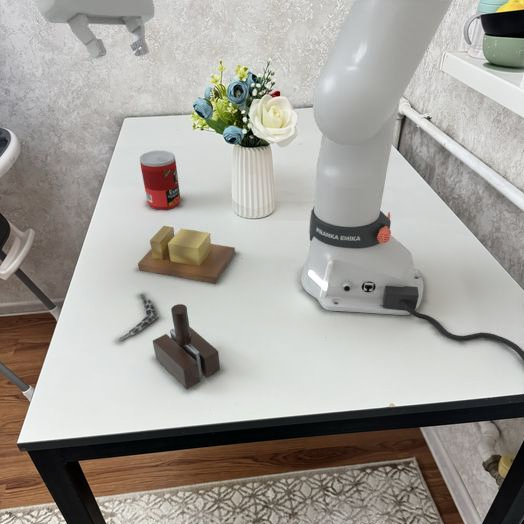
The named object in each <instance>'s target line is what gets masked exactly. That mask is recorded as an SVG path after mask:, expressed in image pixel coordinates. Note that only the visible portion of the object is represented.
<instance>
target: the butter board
mask: <svg viewBox="0 0 524 524" xmlns="http://www.w3.org/2000/svg"><path fill="white" fill-rule="evenodd" d="M149 244H150V250H149V251H148V252H146V254H145V255H144V256H143V257H142V258H141V259H140V260H139V262H138V263H137V266H138V270H139V271H143V272H149V273H154V274H160V275H165V276H171V277H175V278H176V277H177V278H181V279H187V280H191V281H198V282H203V283H210V284H214V285H216V283H217V282H218V280H219V279H220V277H221V276H222V274H223V273H224V271H225V270H226V268H227V267H228V265H229V264H230V263H231V261H232V259H233V258H234V257H235V255H236V248H235V247H233V246H229V245H220V244H215V243H212V239H211V233H210V232H207V231H200V230H194V229H188V228H180V229H179V230H178V231H177V232H176V234H175V229H174V226H168V225H163V226H162V227H161V228H160V229H159V230H158V231H157V232H156V233H155V234H154V235H153V236H152V237H151V238H150V239H149Z"/></svg>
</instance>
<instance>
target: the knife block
mask: <svg viewBox="0 0 524 524" xmlns="http://www.w3.org/2000/svg"><path fill="white" fill-rule="evenodd" d="M173 329H174V328H173ZM174 330H175V329H174ZM190 333H191V342H190V344H191V345H192V346H193V347H194V348H195V349H196V350H197V351H199V355H200V362H201V370H202V375H203V376H204V377H206V378H209V377H211V376H212V375H214V374H216V373H217V372H219V371H221V366H220V355H219V350H217V348H215V347H214V346H213V345H212V344H211V343H210V342H208V341H207V340H206V339H205V338H204V337H203V336H202V335H200V334H199V333H198V332H197V331H196V330H195V329H193V328H192V327H191V326H190ZM152 345H153V350H154V355H155V359H156V361H157V362H158V363H159V364H160V365H161V366H163V368H164V369H165V370H167V372H168V373H169V374H170V375H171V376H172V377H173V378H175V379H176V381H177V382H178V383H179V384H180V385H182V387H184V389H186V390H189V389H190V388H192V387H194V386H195V385H197V384H199V383H200V382H201V377H200V376H199V369H198V362H197V361H195V360H194V359H193V358H192V357H191V356H190V355H189V354H188V353H187V352H186V351H184V350H183V349H182V348H181V347H180V346H179V345H178V344H177V343H176V342H175V341H174V340H172V339H171V336H169V335H168V334H167V333H165V334H163V335H161V336H159V337H156V338H155V339H153V340H152Z"/></svg>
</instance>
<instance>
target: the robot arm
mask: <svg viewBox="0 0 524 524" xmlns="http://www.w3.org/2000/svg"><path fill="white" fill-rule="evenodd" d="M453 2H454V0H353V1H352V3H351V6H350V8H349V10H348V12H347V14H346V16H345V18H344V20H343V23H342V25H341V27H340V29H339V31H338V33H337V36H336V38H335V40H334V42H333V44H332V46H331V48H330V51H329V53H328V55H327V56H326V60H325V62H324V64H323V66H322V68H321V70H320V72H319V75H318V77H317V79H316V82H315V85H314V91H313V98H312V113H313V118H314V122H315V124H316V126H317V128H318V129H319V131H320V132H321V133H322V135H321V141H320V147H319V152H318V156H317V160H316V161H317V162H316V172H315V186H314V187H315V189H314V201H313V202H314V203H313V208H312V209H311V211H310V216H309V226H308V228H309V229H308V234H309V241H310V242H309V249H308V253H307V258H306V260H305V261H306V262H305V264H304V267H303V270H302V272H301V275H300V285H301V286H302V289H304V290H305V292H306V293H308V294H309V295H311V296H312V297H313V298H315V299H316V300H317V301H318V303H319V304H320V306H321V307H322V308H323V309H324V310H326V311H331V312H333V311H335V312H349V313H365V314H381V315H398V316H409V315H412V316H413V317H414V318H417V319H421V320H424V321H426V322H428V323H430V324H431V325H432V326H434V327H435V328H436V329H437V330H438V331H439V333H440V334H441V335H442V336H444V337H445V338H448V339H450V340H452V341H453V340H454V341H457V342H466V341H467V342H468V341H473V340H477V339H490V340H493V341H496V342H499V343H502V344H503V345H505V346H507V347H509V348H510V349H512V350H513V351H515V352H516V353H517V355H518V356H519V357H520V358H521V359H522V362H524V349H522V347H520V346H519V345H518V344H516V343H515V342H513V341H511V340H510V339H508V338H505V337H502V336H500V335H497V334H494V333H491V332H477V333H472V334H471V333H470V334H466V335H458V334H454V333H452V332H449V331H448V330H446V329H445V327H444V326H443V325H442V324H441V323H440V322H439V321H438V320H437V319H435V318H434V317H432V316H430V315H428V314H425V313H421V312H419V311H416V310H417V309H418V308H419V307H420V305H421V303H422V300H423V295H424V280H423V277H422V275H421V273H420V272H419V271H418V270H417V269H415V265H414V259H413V255H412V253H411V251H410V250H409V249H408V247H406V246H405V245H404V244H403V243H402V242H400V241H399V240H398V239H396V238H395V236H393V235H392V231H391V225H392V224H391V223H392V220H391V212H389V211H388V214H386V215H385V213H384V212H383V211H382V210H381V208H382V204H383V203H382V202H383V196H384V191H385V185H386V179H387V172H388V166H389V162H390V155H391V151H392V144H393V139H394V135H395V129H396V125H397V124H396V123H397V120H398V119H397V117H398V113H399V109H400V108H399V107H400V103H401V99H402V97H403V95H404V94H405V92H406V90H407V88H408V86H409V84H410V83H411V81H412V79H413V77H414V75H415V73H416V71H417V69H418V67H419V66H420V64H421V62H422V60H423V58H424V56H425V54H426V52H427V51H428V49H429V46H430V45H431V43H432V41H433V39H434V37H435V36H436V33H437V31H438V29H439V27H440V26H441V23H442V22H443V19H444V17H446V14H447V12H448V10H449V8H450V7H451V5H452V3H453ZM34 3H35V5H36V8H37V9H38V12H39V13H40V15H41V16H42V18H44V19H45V20H46V21H47V22H48V23H50V24H68V25H69V28H70V30H71V33H72V34H74V36H75V37H76V38H77V39H78V40H79V41H80V42H81V43H82V44H83V45H84V47H85V48H86V50H87V53H88V55H89V57H90V58H91V59H101V58H103V57H105V56H106V55H107V49H106V47H105V46H104V42H103V40H102V38H97V37H96V35H95V34H94V32H93V31H92V29H91V28H90V27H89V25H98V26H99V25H100V26H101V25H102V26H103V25H104V26H105V25H106V26H126V29H127V31H128V33H131V37H132V39H131V40H132V43H131V44H130V45H129V46H130V49H131V50H132V51H133V55H134V57H145V56H146V55H148V54H149V52H150V51H149V50H150V49H149V47H148V44H147V42H146V31H145V29H146V28H145V24H146V23H148V22H150V20H152V19H153V18H154V17H155V3H154V1H153V0H34Z"/></svg>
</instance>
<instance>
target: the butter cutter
mask: <svg viewBox="0 0 524 524" xmlns="http://www.w3.org/2000/svg"><path fill="white" fill-rule="evenodd" d="M170 310H171V311H170V312H171V318H172V323H173V328H172V329H170V330H169V334H170V338H171V339H172V340H174V341H175V342H176V343H177V344H178V345H179V346H180V347H181V348H182V349H183V350H184V351H186V352H187V353H188V354H189V355H190V356H191V357H192V358H193V359H194V360H195V361H197V362H198V369H199V376H200V378H202V377H203V373H202V370H201V362H200V355H199V351H197V350H196V349H195V348H194V347H193V346H192V345H191V344H190V342H191V333H190V327H191V326H190V320H189V319H190V318H189V314H188V307H187V306H186V305H185V304H182V303H178V304H175V305H172V307H171V308H170ZM174 329H175V330H174Z"/></svg>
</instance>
